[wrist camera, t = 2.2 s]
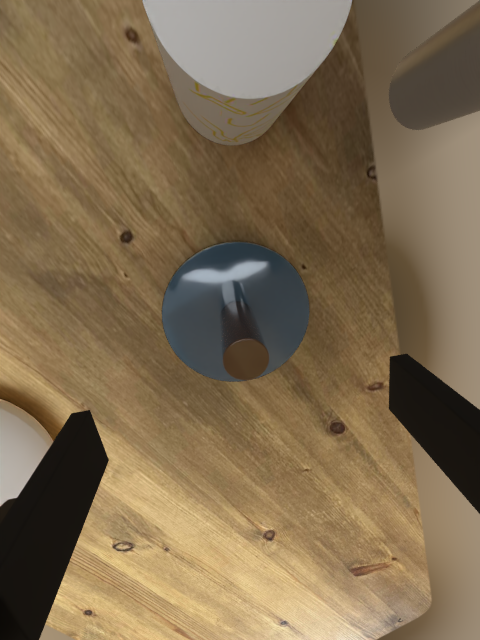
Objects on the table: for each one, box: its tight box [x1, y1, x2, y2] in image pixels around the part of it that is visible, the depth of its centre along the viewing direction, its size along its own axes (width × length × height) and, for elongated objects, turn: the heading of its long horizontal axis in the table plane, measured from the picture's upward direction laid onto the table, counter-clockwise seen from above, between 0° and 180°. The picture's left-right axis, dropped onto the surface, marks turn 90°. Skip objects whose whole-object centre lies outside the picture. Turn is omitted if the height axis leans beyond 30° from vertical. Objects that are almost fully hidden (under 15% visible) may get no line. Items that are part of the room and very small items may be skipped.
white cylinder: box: [142, 0, 352, 145], centre depth 17 cm, size 8×8×12 cm
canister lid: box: [162, 241, 309, 382], centre depth 25 cm, size 13×13×9 cm
